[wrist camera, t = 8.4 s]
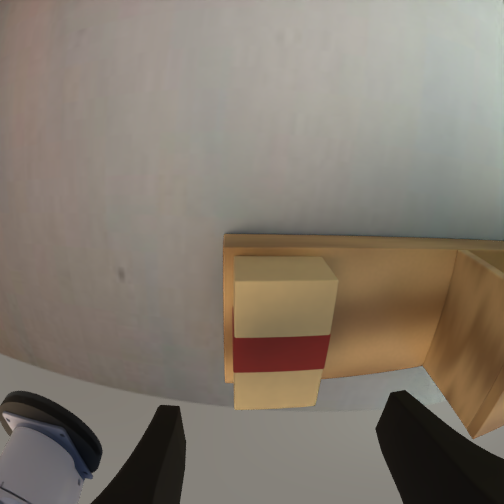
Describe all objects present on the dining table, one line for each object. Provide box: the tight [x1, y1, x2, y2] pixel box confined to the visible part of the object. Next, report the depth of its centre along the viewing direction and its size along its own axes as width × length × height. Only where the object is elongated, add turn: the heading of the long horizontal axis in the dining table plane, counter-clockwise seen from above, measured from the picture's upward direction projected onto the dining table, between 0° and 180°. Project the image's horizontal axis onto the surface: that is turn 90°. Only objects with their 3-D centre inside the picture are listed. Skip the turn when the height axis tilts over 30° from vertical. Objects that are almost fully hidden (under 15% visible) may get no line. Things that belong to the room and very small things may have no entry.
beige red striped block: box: [232, 256, 339, 410], centre depth 14 cm, size 7×4×3 cm, turn 178°
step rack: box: [223, 234, 504, 439], centre depth 14 cm, size 8×24×9 cm, turn 88°
